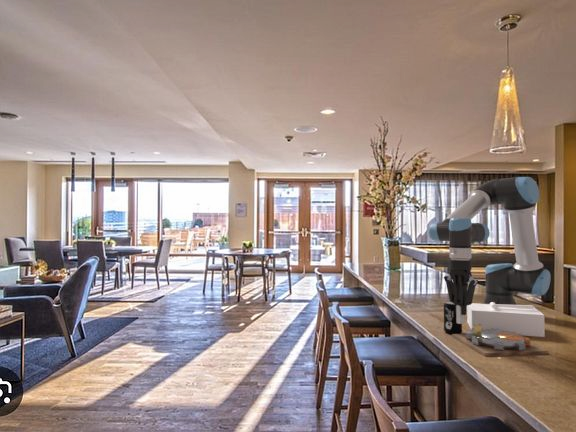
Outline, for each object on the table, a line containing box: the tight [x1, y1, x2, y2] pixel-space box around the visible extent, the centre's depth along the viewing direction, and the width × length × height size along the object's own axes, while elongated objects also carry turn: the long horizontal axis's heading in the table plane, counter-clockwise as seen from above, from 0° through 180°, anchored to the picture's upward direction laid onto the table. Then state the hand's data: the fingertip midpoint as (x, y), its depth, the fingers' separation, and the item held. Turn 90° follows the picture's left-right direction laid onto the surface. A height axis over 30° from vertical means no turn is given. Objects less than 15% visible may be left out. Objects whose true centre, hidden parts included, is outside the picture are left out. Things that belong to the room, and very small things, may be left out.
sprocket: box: [465, 324, 531, 350], centre depth 135 cm, size 20×20×6 cm
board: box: [451, 333, 549, 357], centre depth 135 cm, size 22×21×1 cm
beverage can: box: [443, 300, 463, 335], centre depth 150 cm, size 7×7×12 cm
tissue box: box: [466, 302, 546, 338], centre depth 155 cm, size 14×25×11 cm, turn 71°
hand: (460, 322), depth 141 cm, fingers closed
